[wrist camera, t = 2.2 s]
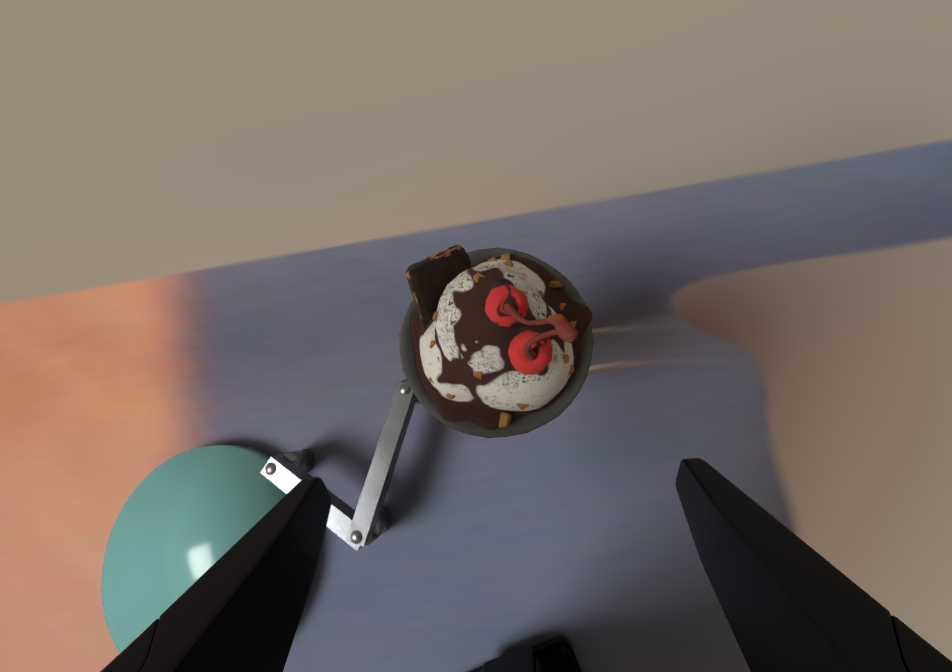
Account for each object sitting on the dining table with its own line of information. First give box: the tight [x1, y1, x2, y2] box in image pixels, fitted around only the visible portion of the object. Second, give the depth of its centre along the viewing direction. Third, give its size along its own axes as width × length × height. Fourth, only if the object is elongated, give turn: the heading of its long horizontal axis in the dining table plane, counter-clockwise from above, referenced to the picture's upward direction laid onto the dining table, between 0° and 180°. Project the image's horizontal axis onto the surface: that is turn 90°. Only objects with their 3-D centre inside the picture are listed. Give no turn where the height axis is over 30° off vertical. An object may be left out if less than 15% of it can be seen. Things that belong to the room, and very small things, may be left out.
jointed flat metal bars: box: [260, 379, 420, 551], centre depth 20 cm, size 7×10×3 cm
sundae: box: [400, 245, 593, 438], centre depth 15 cm, size 7×7×15 cm
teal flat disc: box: [101, 444, 286, 653], centre depth 21 cm, size 13×13×1 cm
